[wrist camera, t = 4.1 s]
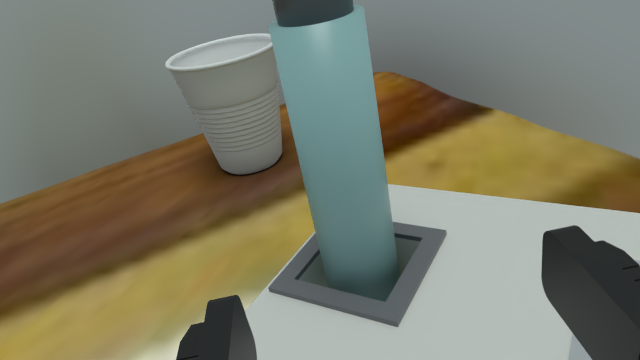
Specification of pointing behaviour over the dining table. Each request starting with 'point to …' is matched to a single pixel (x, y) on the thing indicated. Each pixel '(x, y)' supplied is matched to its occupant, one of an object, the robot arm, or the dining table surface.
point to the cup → (234, 99)
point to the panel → (438, 286)
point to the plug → (338, 140)
